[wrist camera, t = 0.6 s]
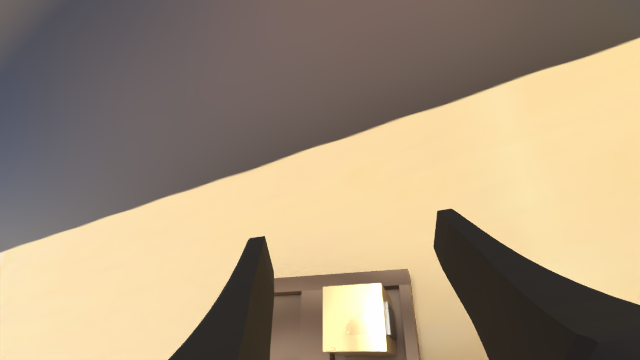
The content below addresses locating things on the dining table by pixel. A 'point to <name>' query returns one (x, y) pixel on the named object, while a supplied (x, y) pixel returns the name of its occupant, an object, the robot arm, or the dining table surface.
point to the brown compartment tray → (307, 315)
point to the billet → (358, 321)
